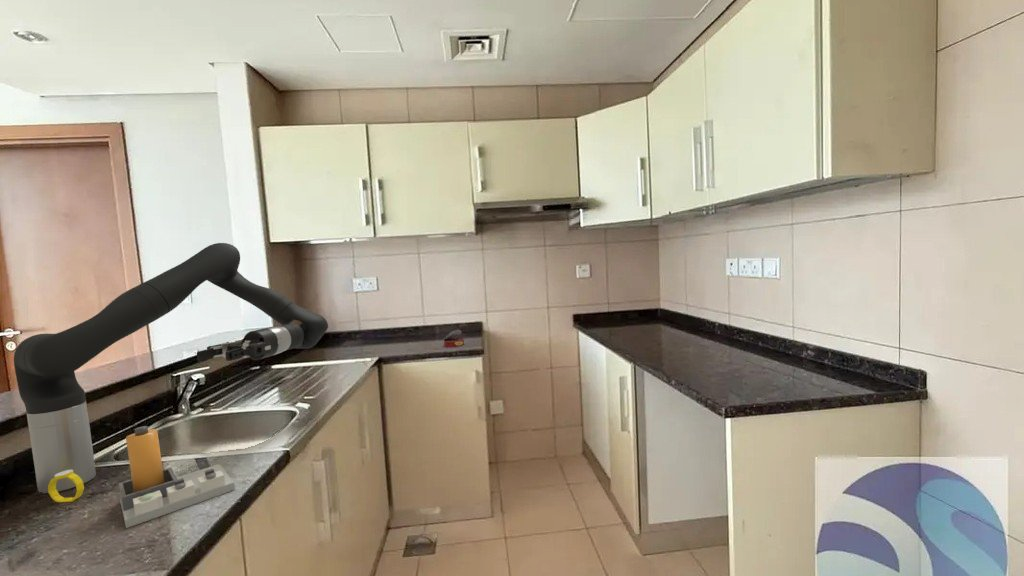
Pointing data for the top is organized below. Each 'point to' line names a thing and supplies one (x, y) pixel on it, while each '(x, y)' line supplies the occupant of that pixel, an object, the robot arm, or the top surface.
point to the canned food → (453, 339)
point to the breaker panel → (183, 502)
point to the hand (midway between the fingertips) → (212, 356)
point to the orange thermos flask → (144, 458)
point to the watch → (70, 475)
